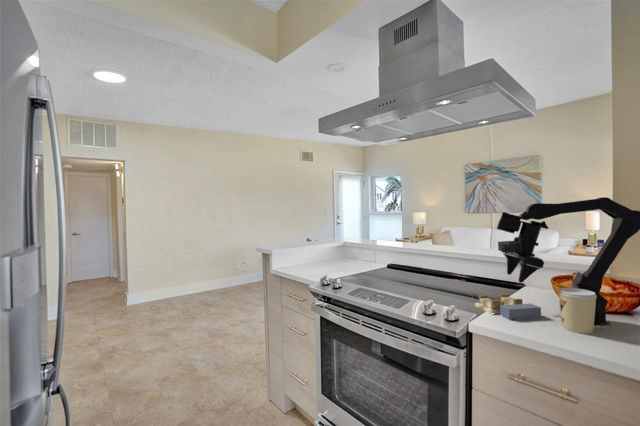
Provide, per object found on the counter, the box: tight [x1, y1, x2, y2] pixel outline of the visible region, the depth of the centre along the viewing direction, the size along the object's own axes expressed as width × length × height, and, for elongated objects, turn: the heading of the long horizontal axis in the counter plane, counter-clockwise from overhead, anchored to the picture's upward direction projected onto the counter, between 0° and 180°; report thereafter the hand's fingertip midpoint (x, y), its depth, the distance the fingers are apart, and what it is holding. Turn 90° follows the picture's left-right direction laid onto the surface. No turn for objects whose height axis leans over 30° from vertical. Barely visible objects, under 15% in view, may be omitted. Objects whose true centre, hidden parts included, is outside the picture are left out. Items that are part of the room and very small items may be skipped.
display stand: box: [474, 293, 523, 314], centre depth 122 cm, size 10×14×4 cm
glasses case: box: [499, 303, 542, 321], centre depth 113 cm, size 4×12×4 cm, turn 97°
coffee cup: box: [558, 287, 597, 335], centre depth 101 cm, size 9×9×12 cm
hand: (514, 278), depth 117 cm, fingers open, 9 cm apart
